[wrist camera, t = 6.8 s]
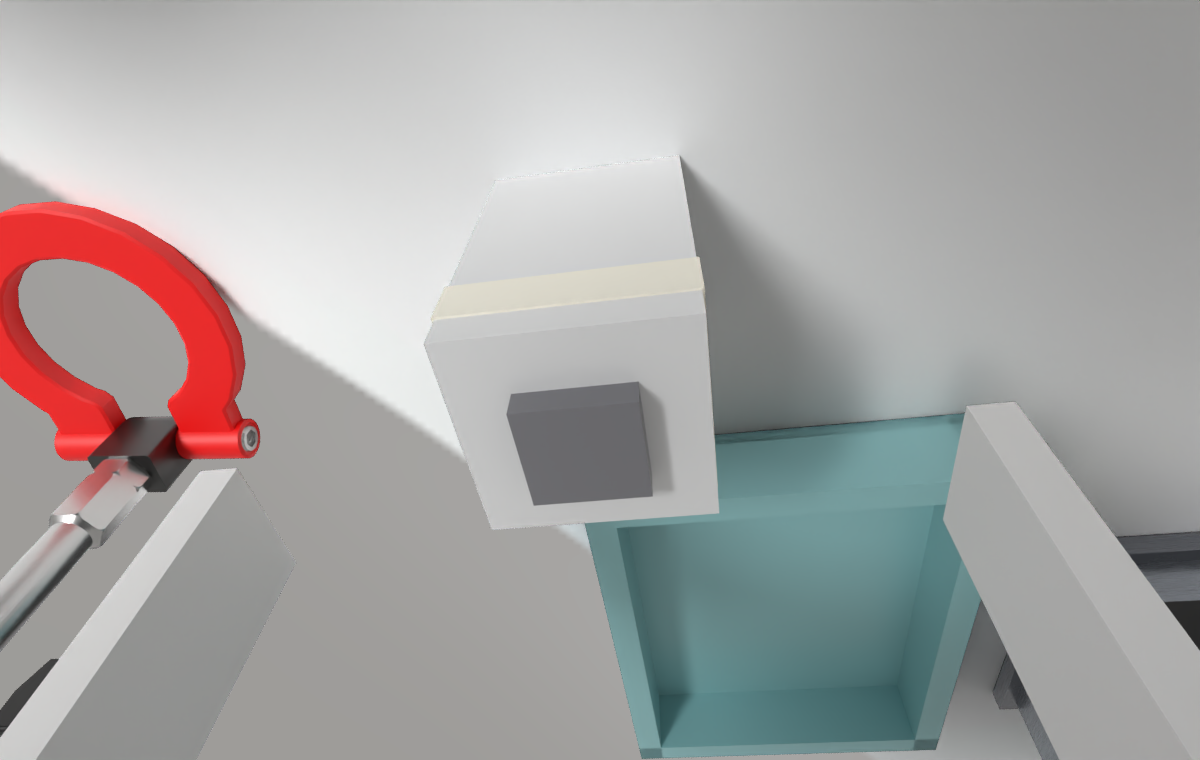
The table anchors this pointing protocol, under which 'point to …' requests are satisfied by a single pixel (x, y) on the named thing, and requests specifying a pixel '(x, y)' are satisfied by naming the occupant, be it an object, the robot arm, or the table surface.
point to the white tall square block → (581, 350)
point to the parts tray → (796, 597)
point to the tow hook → (92, 416)
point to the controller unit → (1173, 572)
